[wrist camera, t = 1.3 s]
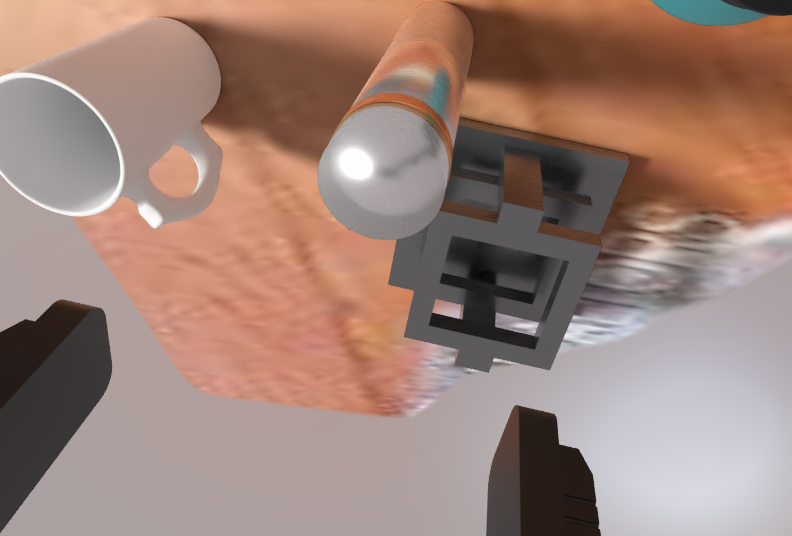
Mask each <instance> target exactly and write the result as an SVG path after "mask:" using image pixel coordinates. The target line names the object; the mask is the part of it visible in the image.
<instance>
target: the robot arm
mask: <svg viewBox="0 0 792 536" xmlns="http://www.w3.org/2000/svg"><path fill="white" fill-rule="evenodd" d="M111 373H112V360H111V353H110V345H109V338H108V331H107V323H106V316H105V313H104V311H103V310H102V309H101V308H97V307H93V306H89V305H84V304H80V303H76V302H72V301H67V300H58V301H56V302H55V303H54V304H52V305H51V306H50V307H49V308H48V309H47V310H46V311H45V312H44V313H43V314H42V315H41V316H40V317H39V318H38V319H37V320H36V321H30V320H26V319H25V320H23V321H21V322H19V323H18V324H15V325H14V326H12V327H10V328H8V329H6V330H4V331H2V332H0V533H1V531H2V530H3V529H4V527H5V526H6V525H7V523H8V522H9V521H10V519H11V518H12V517H13V515H14V514H15V513H16V511H17V510H18V509H19V507H20V506H21V505H22V503H23V502H24V501H25V499H26V498H27V497H28V495H29V494H30V492H31V491H32V490H33V489H34V487H35V486H36V485H37V483H38V482H39V481H40V479H41V478H42V477H43V475H44V474H45V472H46V471H47V470H48V469H49V467H50V466H51V464H52V463H53V462H54V461H55V459H56V458H57V457H58V455H59V454H60V452H61V451H62V450H63V448H64V447H65V446H66V445H67V443H68V441H69V440H70V439H71V438H72V436H73V435H74V434H75V432H76V431H77V430H78V428H79V427H80V426H81V424H82V423H83V422H84V420H85V419H86V417H87V416H88V415H89V414H90V412H91V411H92V410H93V408H94V407H95V406H96V404H97V403H98V402H99V400H100V399H101V398H102V396H103V395H104V393H105V391H106V389H107V387H108V384H109V381H110V378H111ZM595 504H596V495H595V488H594V480H593V474H592V472H591V471H590V469H589V467H588V465H587V463H586V462H585V460H584V458H583V456H582V454H581V453H580V451H579V449H577V448H572V447H568V446H564V445H559V439H558V426H557V418H556V416H555V414H552V413H548V412H544V411H539V410H535V409H530V408H526V407H522V406H517V405H516V406H514V408H513V410H512V412H511V414H510V417H509V419H508V422H507V424H506V427H505V430H504V432H503V435H502V437H501V440H500V442H499V445H498V447H497V450H496V452H495V455H494V458H493V462H492V465H491V470H490V476H489V483H488V503H487V531H486V532H487V533H486V536H601V533H600V529H598V527H599V518H598V511H597V507H596V505H595Z"/></svg>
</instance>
